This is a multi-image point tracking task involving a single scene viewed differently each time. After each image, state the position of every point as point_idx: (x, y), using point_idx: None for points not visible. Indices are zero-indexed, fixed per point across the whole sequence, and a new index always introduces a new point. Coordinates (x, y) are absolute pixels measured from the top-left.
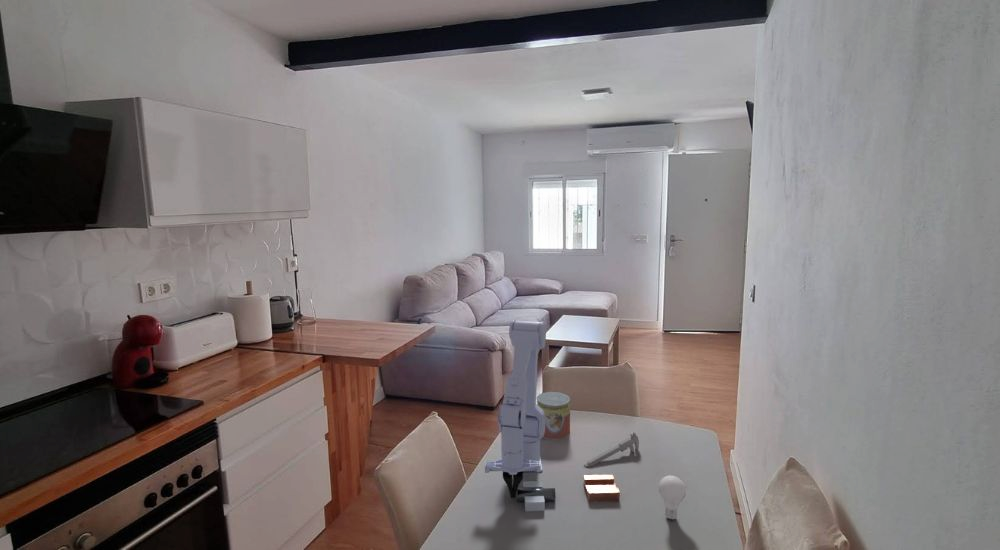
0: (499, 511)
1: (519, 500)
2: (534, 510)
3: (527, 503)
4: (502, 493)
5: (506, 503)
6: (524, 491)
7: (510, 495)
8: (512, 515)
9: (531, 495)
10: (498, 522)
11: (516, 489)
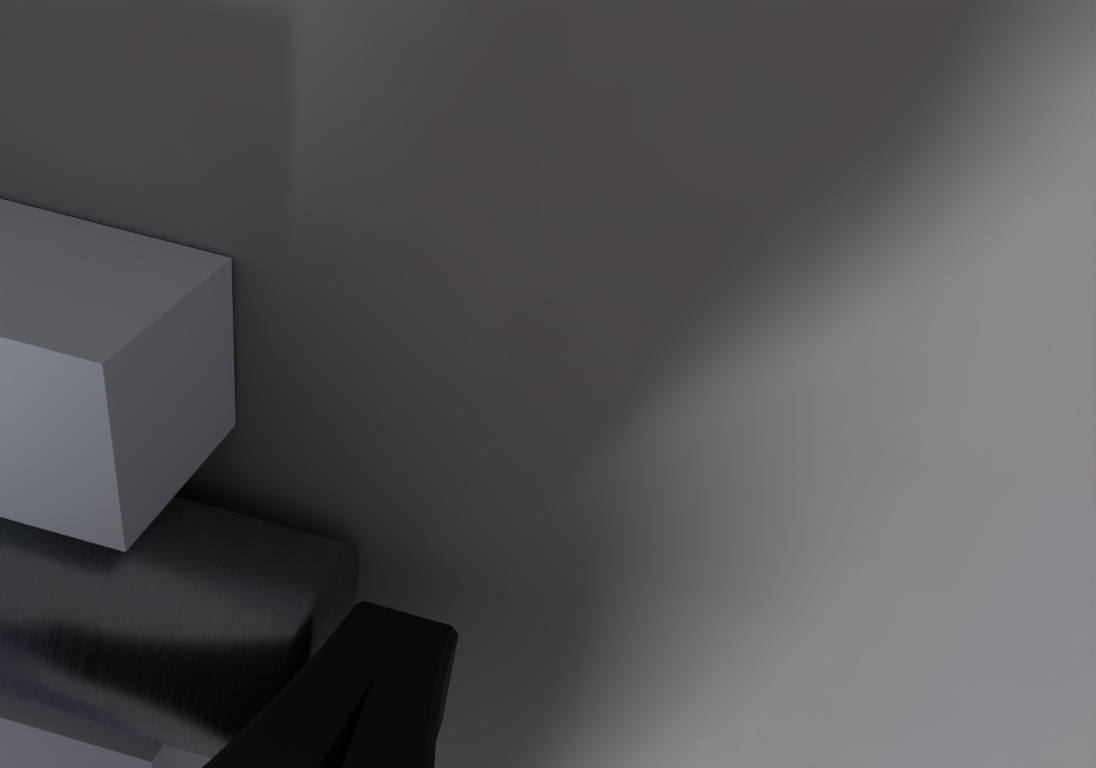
0: (772, 409)
1: (303, 535)
2: (32, 215)
3: (64, 334)
4: (576, 763)
5: (565, 561)
6: (115, 666)
7: (440, 672)
8: (520, 210)
9: (5, 541)
10: (949, 42)
11: (229, 764)
